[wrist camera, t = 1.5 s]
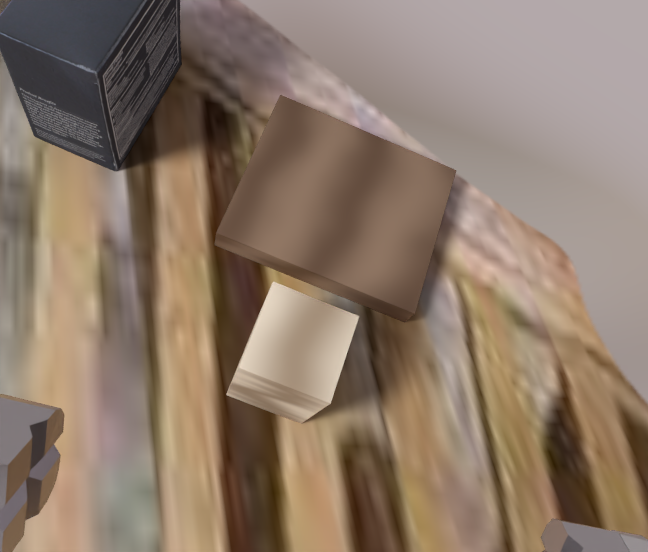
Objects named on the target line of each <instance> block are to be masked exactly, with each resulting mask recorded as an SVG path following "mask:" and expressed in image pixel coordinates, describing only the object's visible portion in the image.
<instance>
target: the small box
mask: <svg viewBox="0 0 648 552" xmlns="http://www.w3.org/2000/svg"><path fill="white" fill-rule="evenodd" d="M180 44H181V42H180V0H12V1H11V2H10V3H9V4H8V6H7V7H6V8H5V9H4V11H3V12H2V13H1V14H0V51H1V54H2V56H3V58H4V61H5V63H6V66H7V68H8V71H9V73H10V76H11V78H12V81H13V83H14V86H15V88H16V91H17V93H18V96H19V98H20V101H21V103H22V106H23V108H24V111H25V113H26V116H27V118H28V121H29V124H30V126H31V129H32V132H33V134H34V136H35V137H37V138H39V139H41V140H43V141H46V142H48V143H50V144H52V145H55V146H57V147H60V148H62V149H64V150H66V151H69V152H71V153H73V154H76V155H78V156H80V157H83V158H85V159H87V160H90V161H92V162H94V163H97V164H99V165H101V166H104V167H106V168H108V169H110V170H114V171H117V170H118V169H119V168H120V166H121V164H122V163H123V161H124V160H125V158H126V156H127V155H128V153H129V151H130V150H131V148H132V146H133V145H134V143H135V141H136V140H137V138H138V136H139V135H140V134H141V132H142V130H143V128H144V126H145V125H146V123H147V121H148V120H149V118H150V116H151V115H152V113H153V112H154V110H155V108H156V106H157V105H158V104H159V102H160V100H161V98H162V96H163V95H164V93H165V91H166V90H167V88H168V86H169V85H170V83H171V81H172V80H173V78H174V76H175V74H176V73H177V71H178V69H179V67H180V66H181V65H182V62H181V47H180Z"/></svg>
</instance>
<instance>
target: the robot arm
mask: <svg viewBox="0 0 648 552" xmlns="http://www.w3.org/2000/svg"><path fill="white" fill-rule="evenodd" d="M63 425H64V413H63V411H62V409H61V408H57V407H53V406H49V405H45V404H41V403H37V402H32V401H28V400H24V399H20V398H16V397H12V396H8V395H4V394H0V552H12V551H13V550H14V548H15V547H16V545H17V544H18V543H19V541H20V540H21V538H22V537H23V535H24V528H25V520H27V519H29V518H31V517H33V516H36V515H38V514H39V512H40V511H41V509H42V508H43V506H44V505H45V503H46V502H47V500H48V498H49V496H50V493H51V491H52V489H53V487H54V484H55V482H56V478H57V474H58V470H59V463H60V454H59V452H58V450H57V449H56V447H55V445H54V443H55V442H56V440H57V439H58V438H59V436H60V435H61V434H62V433H63ZM541 539H542V542H543V545H544V547H545V550H544V551H543V552H648V540H647V539H646V538H644V537H643V536H641V535H636V534H630V533H625V532H620V531H615V530H612V531H610V530H605V529H601V528H596V527H591V526H586V525H582V524H577V523H572V522H567V521H563V520H558V519H552V520H551V521H550V522H549V523H548V524H547V525H546V527H545V530H544V532H543V534H542V536H541Z"/></svg>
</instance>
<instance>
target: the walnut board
mask: <svg viewBox="0 0 648 552" xmlns="http://www.w3.org/2000/svg"><path fill="white" fill-rule="evenodd" d="M455 173H456V170H454V169H452V168H449V167H447V166H445V165H443V164H440V163H438V162H436V161H433V160H431V159H429V158H426V157H424V156H422V155H419V154H417V153H415V152H412V151H410V150H408V149H405V148H403V147H401V146H398V145H396V144H394V143H391V142H389V141H387V140H384V139H382V138H380V137H377V136H375V135H373V134H370V133H368V132H366V131H363V130H361V129H359V128H357V127H354V126H352V125H350V124H347V123H345V122H343V121H340V120H338V119H336V118H333V117H331V116H329V115H326V114H324V113H322V112H319V111H317V110H315V109H312V108H310V107H308V106H305V105H303V104H301V103H298V102H296V101H294V100H291V99H289V98H287V97H284V96H282V95H280V97H279V99H278V101H277V103H276V105H275V108H274V110H273V112H272V114H271V116H270V118H269V121H268V123H267V125H266V127H265V129H264V131H263V133H262V136H261V138H260V140H259V142H258V144H257V146H256V148H255V151H254V153H253V155H252V157H251V159H250V161H249V164H248V166H247V168H246V170H245V172H244V174H243V176H242V179H241V181H240V183H239V185H238V187H237V189H236V191H235V194H234V196H233V198H232V200H231V202H230V204H229V207H228V209H227V211H226V213H225V215H224V217H223V219H222V222H221V224H220V226H219V228H218V230H217V232H216V238H215V246H218V247H220V248H223V249H225V250H228V251H230V252H233V253H235V254H238V255H240V256H243V257H245V258H247V259H250V260H252V261H255V262H257V263H260V264H262V265H265V266H267V267H270V268H272V269H275V270H277V271H280V272H282V273H284V274H287V275H289V276H292V277H294V278H297V279H299V280H302V281H304V282H307V283H309V284H312V285H314V286H316V287H319V288H321V289H324V290H326V291H329V292H331V293H334V294H336V295H339V296H341V297H344V298H346V299H349V300H351V301H353V302H356V303H358V304H361V305H363V306H366V307H368V308H371V309H373V310H376V311H378V312H381V313H383V314H386V315H388V316H390V317H393V318H395V319H398V320H400V321H403V322H406V321H407V320H408V319H409V318H410V317H412V316H413V315H414V314H415V312H416V308H417V305H418V301H419V298H420V294H421V291H422V287H423V284H424V280H425V277H426V274H427V270H428V267H429V263H430V260H431V256H432V253H433V249H434V246H435V242H436V239H437V236H438V232H439V229H440V225H441V222H442V218H443V215H444V211H445V208H446V204H447V201H448V197H449V194H450V191H451V187H452V184H453V180H454V177H455Z"/></svg>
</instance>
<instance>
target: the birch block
mask: <svg viewBox="0 0 648 552" xmlns="http://www.w3.org/2000/svg"><path fill="white" fill-rule="evenodd" d="M358 319H359V316H357V315H355V314H352V313H350V312H347V311H345V310H343V309H340V308H338V307H335V306H333V305H330V304H328V303H325V302H323V301H320V300H318V299H315V298H313V297H310V296H308V295H305V294H303V293H300V292H298V291H296V290H293V289H291V288H288V287H286V286H283V285H281V284H278V283H276V282H273V283H272V286H271V288H270V290H269V292H268V295H267V297H266V299H265V302H264V304H263V306H262V309H261V311H260V313H259V316H258V318H257V320H256V323H255V325H254V327H253V330H252V332H251V335H250V337H249V340H248V342H247V345H246V347H245V350H244V352H243V355H242V357H241V360H240V362H239V365H238V367H237V370H236V372H235V374H234V377H233V379H232V382H231V384H230V387H229V389H228V392H227V394H226V395H228V396H230V397H233V398H236V399H238V400H241V401H243V402H246V403H249V404H251V405H254V406H256V407H259V408H262V409H264V410H267V411H269V412H272V413H275V414H277V415H280V416H282V417H285V418H288V419H290V420H293V421H295V422H298V423H303V422H304V421H306V420H307V419H309V418H310V417H312V416H313V415H314V414H316V413H317V412H319V411H320V410H322V409H323V408H325V407H326V406H328V405H329V404H331V401H332V398H333V395H334V392H335V388H336V385H337V382H338V379H339V376H340V373H341V370H342V367H343V364H344V361H345V358H346V355H347V352H348V349H349V346H350V343H351V340H352V337H353V334H354V331H355V328H356V325H357V322H358Z"/></svg>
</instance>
